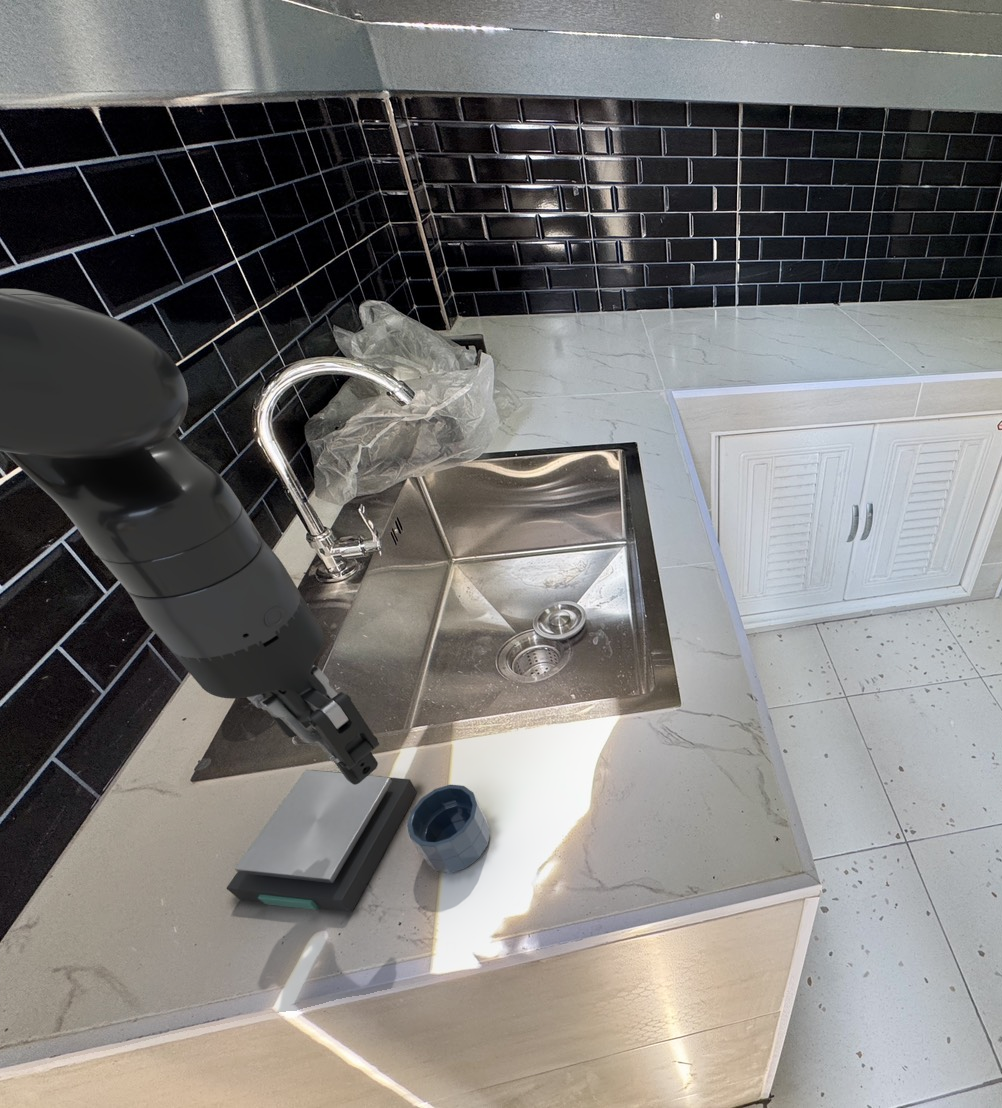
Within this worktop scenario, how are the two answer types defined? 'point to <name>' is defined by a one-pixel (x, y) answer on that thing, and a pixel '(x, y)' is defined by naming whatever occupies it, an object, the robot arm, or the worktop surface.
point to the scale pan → (315, 827)
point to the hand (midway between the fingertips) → (332, 750)
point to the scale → (352, 873)
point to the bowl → (449, 828)
